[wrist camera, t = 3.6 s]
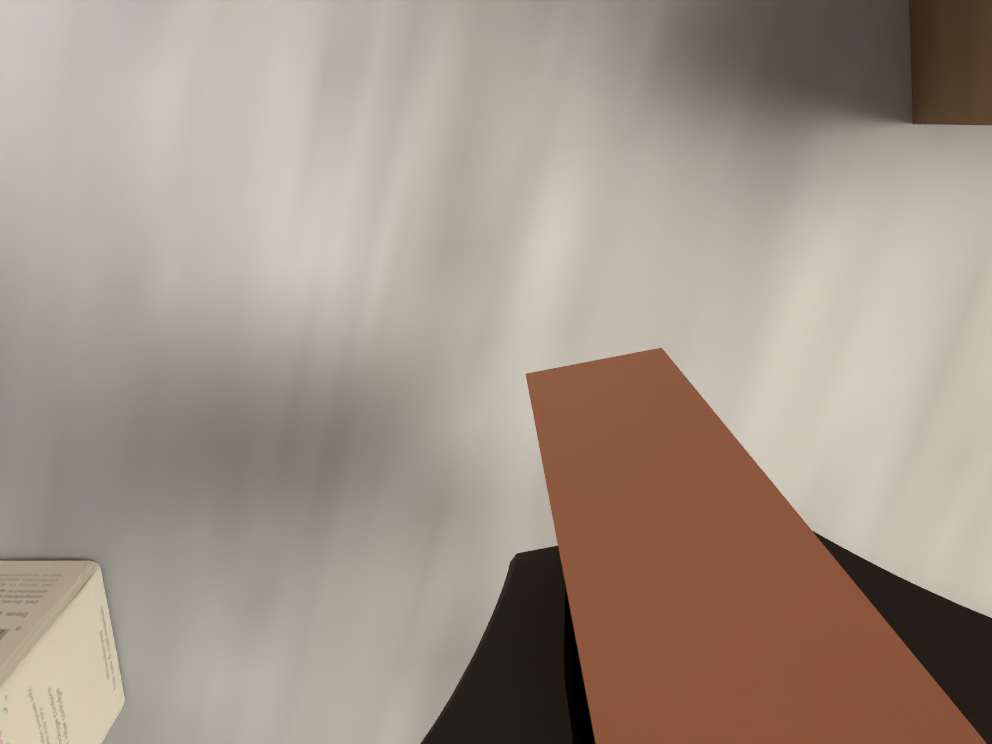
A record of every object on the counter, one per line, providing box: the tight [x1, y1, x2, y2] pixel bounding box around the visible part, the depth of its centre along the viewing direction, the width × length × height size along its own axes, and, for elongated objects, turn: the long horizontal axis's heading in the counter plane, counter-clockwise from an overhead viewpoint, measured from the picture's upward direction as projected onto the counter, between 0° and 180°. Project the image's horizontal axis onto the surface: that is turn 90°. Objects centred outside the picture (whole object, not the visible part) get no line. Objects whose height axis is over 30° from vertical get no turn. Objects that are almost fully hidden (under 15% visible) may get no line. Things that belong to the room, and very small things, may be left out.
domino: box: [526, 348, 987, 744], centre depth 9 cm, size 2×5×9 cm, turn 11°
